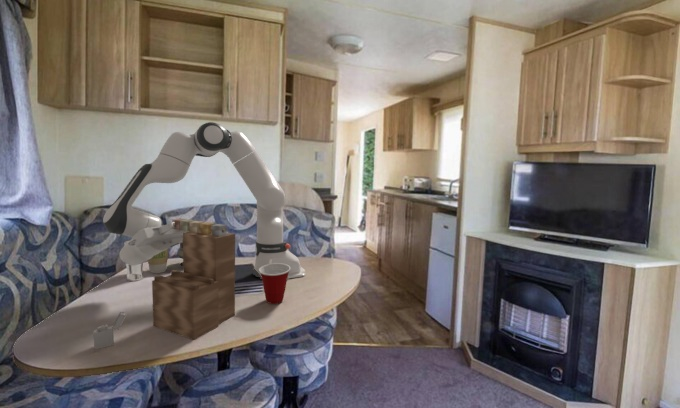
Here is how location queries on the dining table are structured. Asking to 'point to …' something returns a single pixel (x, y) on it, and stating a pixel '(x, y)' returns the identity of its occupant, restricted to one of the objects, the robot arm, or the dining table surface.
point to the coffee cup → (158, 262)
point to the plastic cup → (274, 281)
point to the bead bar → (200, 227)
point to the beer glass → (134, 271)
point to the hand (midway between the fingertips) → (181, 222)
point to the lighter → (107, 333)
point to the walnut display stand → (197, 287)
